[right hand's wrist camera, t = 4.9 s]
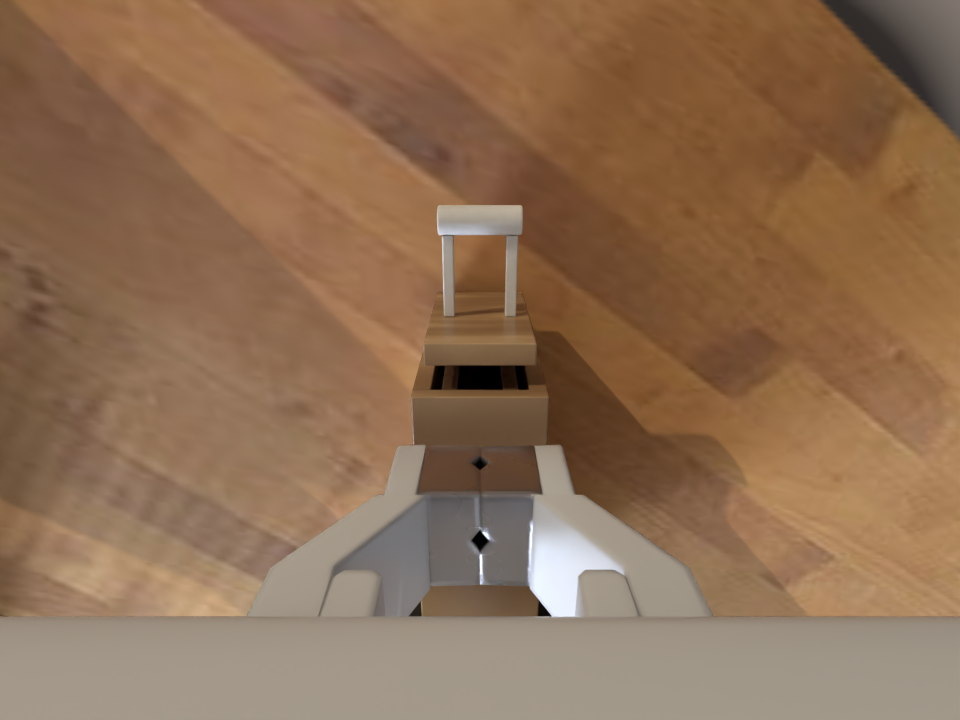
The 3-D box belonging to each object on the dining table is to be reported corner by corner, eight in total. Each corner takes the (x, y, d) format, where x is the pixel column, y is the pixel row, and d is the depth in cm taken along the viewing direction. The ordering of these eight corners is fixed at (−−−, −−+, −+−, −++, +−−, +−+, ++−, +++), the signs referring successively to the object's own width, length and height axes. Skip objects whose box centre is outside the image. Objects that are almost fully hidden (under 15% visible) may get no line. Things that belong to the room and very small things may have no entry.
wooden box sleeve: (430, 322, 37) (410, 396, 26) (529, 322, 37) (549, 396, 26) (438, 554, 45) (424, 688, 34) (521, 554, 45) (534, 688, 34)
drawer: (434, 196, 34) (417, 216, 24) (525, 196, 34) (542, 216, 24) (444, 525, 42) (434, 631, 33) (515, 525, 42) (525, 631, 33)
